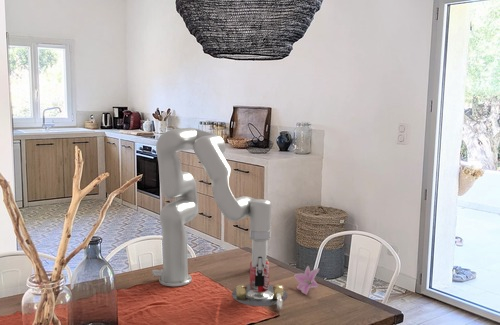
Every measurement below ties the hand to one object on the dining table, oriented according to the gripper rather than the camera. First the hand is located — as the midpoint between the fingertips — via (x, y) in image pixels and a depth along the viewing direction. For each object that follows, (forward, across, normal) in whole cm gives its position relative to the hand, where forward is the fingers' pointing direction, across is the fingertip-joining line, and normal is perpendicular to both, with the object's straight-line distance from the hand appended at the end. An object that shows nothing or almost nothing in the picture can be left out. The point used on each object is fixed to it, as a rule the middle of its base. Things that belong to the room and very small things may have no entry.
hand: (259, 281), depth 179 cm
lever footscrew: (+5, +8, +7) cm, 12 cm away
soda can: (+4, 0, 0) cm, 4 cm away
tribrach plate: (+6, 0, 0) cm, 6 cm away
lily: (+6, -5, +18) cm, 20 cm away
